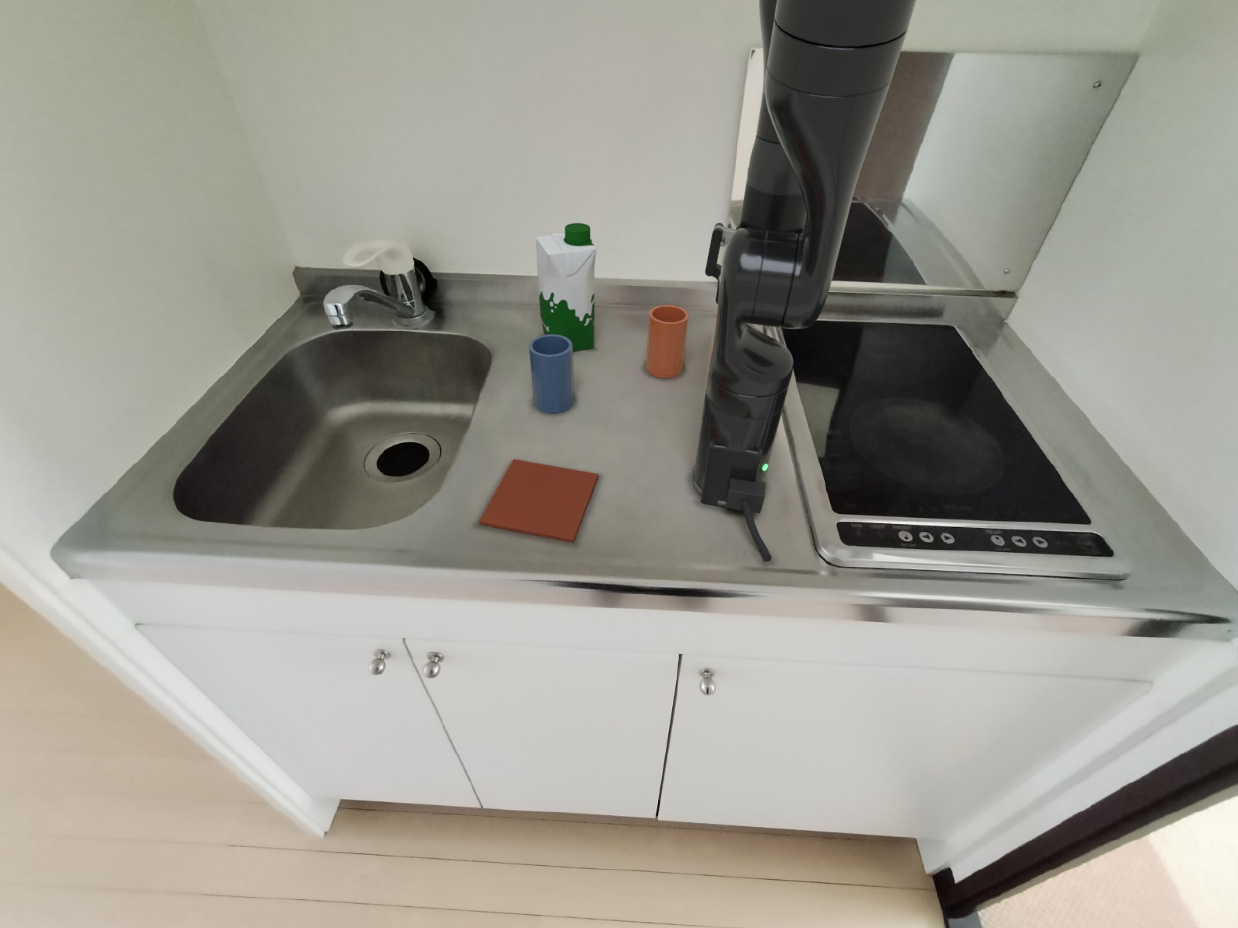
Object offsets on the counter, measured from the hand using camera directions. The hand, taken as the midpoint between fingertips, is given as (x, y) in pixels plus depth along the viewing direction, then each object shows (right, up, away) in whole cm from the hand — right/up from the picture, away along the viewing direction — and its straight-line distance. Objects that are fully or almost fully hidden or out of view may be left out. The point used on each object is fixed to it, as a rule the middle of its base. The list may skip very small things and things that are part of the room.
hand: (755, 310), depth 79 cm
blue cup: (-28, -11, +14) cm, 33 cm away
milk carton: (-27, +1, +28) cm, 39 cm away
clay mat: (-28, -25, -2) cm, 37 cm away
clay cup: (-10, -4, +22) cm, 25 cm away
